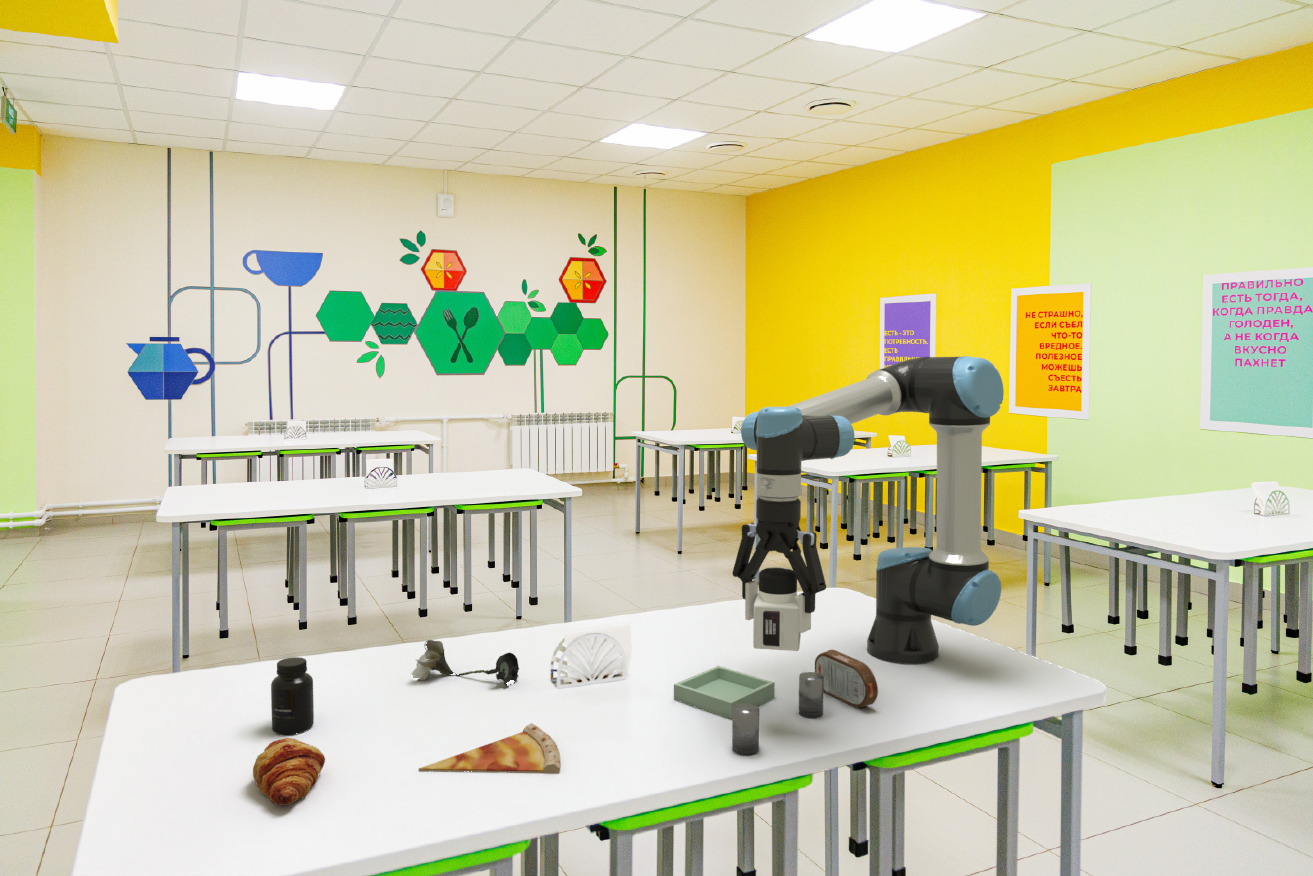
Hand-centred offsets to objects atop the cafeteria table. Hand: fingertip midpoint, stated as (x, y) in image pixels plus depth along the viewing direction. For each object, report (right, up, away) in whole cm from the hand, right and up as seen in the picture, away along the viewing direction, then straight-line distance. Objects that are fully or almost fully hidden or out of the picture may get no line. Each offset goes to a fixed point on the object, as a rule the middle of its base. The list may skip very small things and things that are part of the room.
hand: (777, 624), depth 153 cm
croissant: (-77, -21, -17) cm, 82 cm away
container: (0, -4, 0) cm, 3 cm away
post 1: (-6, -19, -7) cm, 21 cm away
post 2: (+7, -18, +8) cm, 21 cm away
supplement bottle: (-85, -19, +2) cm, 87 cm away
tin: (+15, -18, +15) cm, 27 cm away
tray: (-8, -17, +15) cm, 24 cm away
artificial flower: (-61, -17, +25) cm, 68 cm away
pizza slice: (-47, -20, -7) cm, 51 cm away
